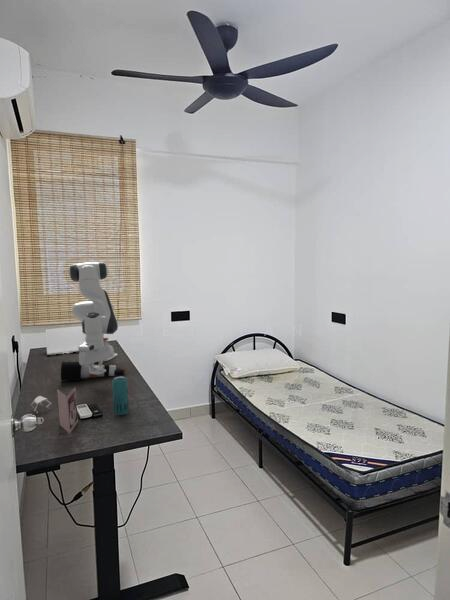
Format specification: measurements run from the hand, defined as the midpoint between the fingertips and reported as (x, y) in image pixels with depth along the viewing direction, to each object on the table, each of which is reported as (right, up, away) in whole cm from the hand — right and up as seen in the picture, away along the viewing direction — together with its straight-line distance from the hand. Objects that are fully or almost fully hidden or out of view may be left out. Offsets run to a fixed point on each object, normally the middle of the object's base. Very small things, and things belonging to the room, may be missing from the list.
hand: (96, 369), depth 212 cm
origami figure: (-16, -13, -30) cm, 36 cm away
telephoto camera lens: (-6, -8, +15) cm, 18 cm away
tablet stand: (-48, -1, +79) cm, 92 cm away
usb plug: (0, -2, 0) cm, 2 cm away
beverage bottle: (+24, -13, -40) cm, 48 cm away
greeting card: (+4, -15, -51) cm, 53 cm away
